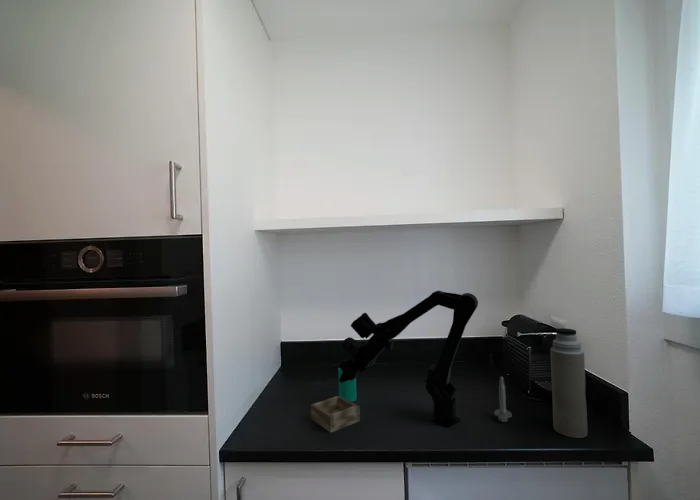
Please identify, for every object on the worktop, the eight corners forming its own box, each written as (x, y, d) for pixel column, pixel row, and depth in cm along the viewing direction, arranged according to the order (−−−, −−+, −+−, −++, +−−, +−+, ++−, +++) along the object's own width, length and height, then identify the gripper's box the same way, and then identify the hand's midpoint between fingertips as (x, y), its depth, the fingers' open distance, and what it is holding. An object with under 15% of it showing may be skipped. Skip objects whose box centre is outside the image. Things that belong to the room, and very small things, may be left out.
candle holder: (339, 409, 114) (339, 395, 114) (360, 420, 106) (359, 406, 106) (311, 419, 108) (310, 404, 108) (330, 432, 99) (330, 416, 99)
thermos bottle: (579, 424, 100) (574, 326, 100) (593, 438, 92) (588, 332, 92) (549, 422, 101) (545, 326, 101) (560, 437, 93) (556, 332, 94)
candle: (346, 393, 122) (345, 359, 123) (360, 397, 119) (358, 362, 119) (335, 399, 118) (334, 364, 118) (349, 403, 114) (347, 367, 114)
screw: (503, 425, 100) (490, 418, 105) (515, 421, 102) (502, 415, 107) (502, 380, 100) (489, 375, 105) (514, 377, 102) (501, 372, 107)
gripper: (366, 325, 126) (340, 353, 130) (343, 336, 109) (314, 368, 113) (387, 348, 122) (360, 376, 126) (367, 364, 105) (336, 396, 110)
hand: (343, 378), depth 119 cm, fingers closed on candle, 5 cm apart
